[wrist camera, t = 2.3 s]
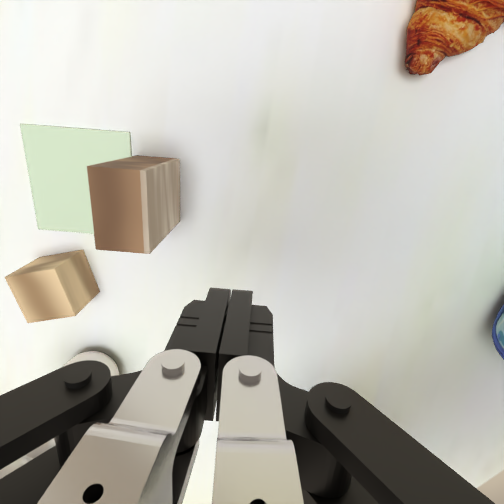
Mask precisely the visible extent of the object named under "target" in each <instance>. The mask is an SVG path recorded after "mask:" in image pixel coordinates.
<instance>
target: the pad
mask: <svg viewBox="0 0 504 504" xmlns="http://www.w3.org/2000/svg"><path fill="white" fill-rule="evenodd" d="M20 128H21V133H22V139H23V145H24V151H25V156H26V162H27V168H28V174H29V179H30V185H31V191H32V197H33V202H34V208H35V214H36V220H37V225H38V229H41V230H53V231H66V232H78V233H90V234H94V228H93V218H92V209H91V200H90V191H89V182H88V173H87V166H89V165H94V164H99V163H104V162H108V161H113V160H118V159H123V158H128V157H132V156H131V140H130V132H120V131H107V130H94V129H81V128H68V127H55V126H42V125H29V124H20Z"/></svg>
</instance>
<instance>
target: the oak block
mask: <svg viewBox="0 0 504 504" xmlns="http://www.w3.org/2000/svg"><path fill="white" fill-rule="evenodd" d="M5 279H6V281H7V283H8V285H9V287H10V289H11V291H12V293H13V295H14V297H15V299H16V301H17V303H18V305H19V307H20V309H21V311H22V313H23V315H24V317H25V319H26V321H27V323H32V322H38V321H45V320H52V319H58V318H65V317H71V316H76V315H77V314H78V313H79V312H80V311H81V310H82V309H83V308H84V307H85V306H86V305H87V304H88V303H89V302H90V301H91V300H92V299H93V298H94V297H95V296H96V295H97V294H98V293H99V292H100V291H99V288H98V286H97V283H96V281H95V278H94V275H93V273H92V270H91V268H90V265H89V263H88V260H87V258H86V255H85V253H84V250H78V251H72V252H67V253H61V254H55V255H49V256H44V257H39V258H37V259H36V260H34V261H32V262H30V263H29V264H27V265H25V266H23V267H22V268H20V269H18V270H16V271H15V272H13V273H11V274H9V275H8V276H6V277H5Z"/></svg>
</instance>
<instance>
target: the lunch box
mask: <svg viewBox="0 0 504 504" xmlns="http://www.w3.org/2000/svg"><path fill="white" fill-rule="evenodd" d="M492 338H493V342H494V345H495V347H496V349H497V351H498V353H499V354H500V355H501V357H502V358H503V359H504V304H503V306H502V307H501V309H500V311H499V313H498V314H497V317H496V319H495V322H494V324H493V329H492Z"/></svg>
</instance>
